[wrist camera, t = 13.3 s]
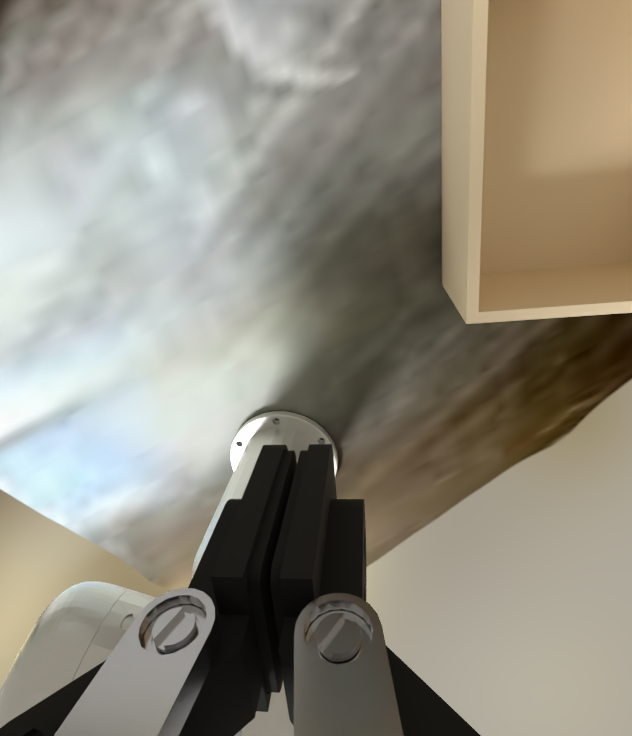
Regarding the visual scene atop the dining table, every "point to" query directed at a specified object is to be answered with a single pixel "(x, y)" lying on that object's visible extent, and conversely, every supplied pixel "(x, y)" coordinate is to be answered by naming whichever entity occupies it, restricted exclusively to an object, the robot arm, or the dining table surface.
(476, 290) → the carton
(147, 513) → the dining table surface
